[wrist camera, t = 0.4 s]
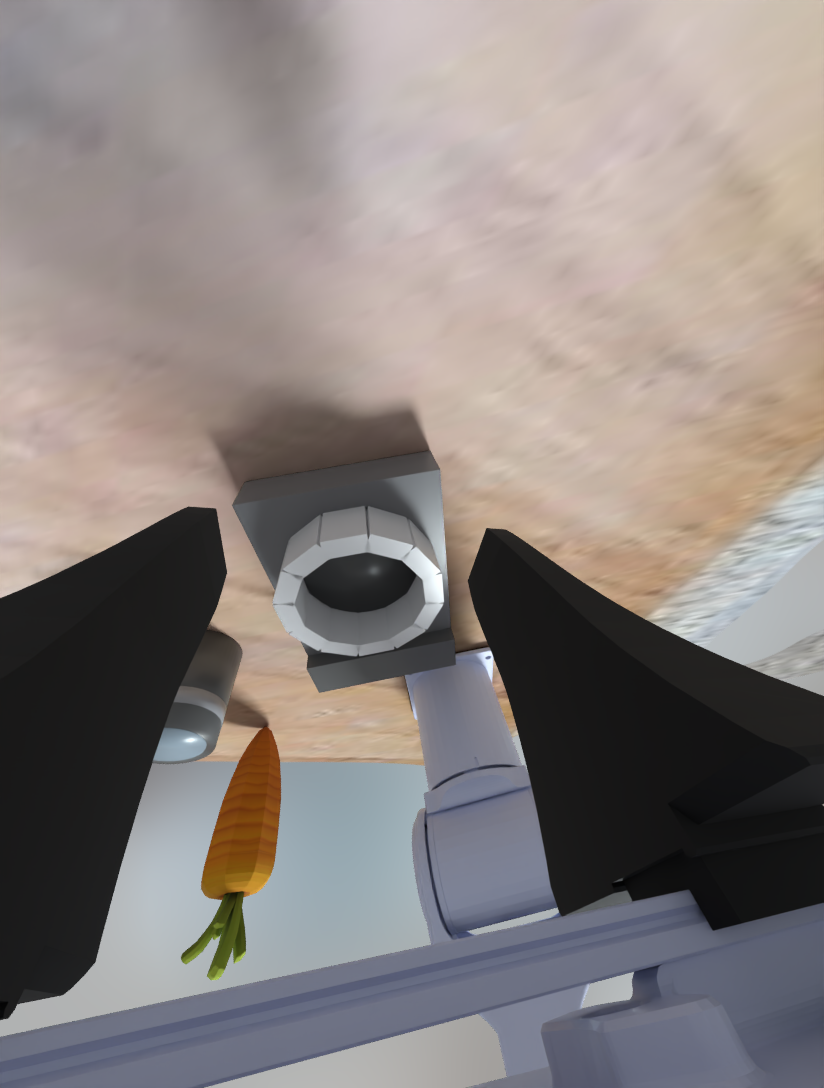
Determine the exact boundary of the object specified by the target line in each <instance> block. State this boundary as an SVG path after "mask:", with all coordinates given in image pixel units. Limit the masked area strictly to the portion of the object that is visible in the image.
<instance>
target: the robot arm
mask: <svg viewBox="0 0 824 1088" xmlns="http://www.w3.org/2000/svg"><path fill="white" fill-rule="evenodd" d="M226 574H227V569H226V563H225V558H224V552H223V546H222V540H221V534H220V529H219V523H218V517H217V511H216V509H214V508H200V507H187V508H184V509H182V510H180V511H178V512H176V513H174V514H172V515H170V516H168V517H166V518H164V519H162V520H160V521H159V522H157V523H155V524H153V525H151V526H149V527H148V528H146V529H144V530H142V531H140V532H138V533H136V534H135V535H133V536H131V537H129V538H127V539H125V540H123V541H121V542H120V543H118V544H116V545H114V546H112V547H110V548H108V549H106V550H104V551H102V552H100V553H98V554H96V555H94V556H92V557H90V558H88V559H86V560H84V561H82V562H80V563H78V564H76V565H74V566H72V567H69V568H67V569H65V570H63V571H61V572H59V573H57V574H55V575H53V576H51V577H49V578H46V579H44V580H42V581H40V582H38V583H35V584H33V585H31V586H28V587H26V588H24V589H22V590H19V591H17V592H15V593H12V594H10V595H7V596H5V597H2V598H0V1020H3V1019H7V1018H9V1017H10V1015H11V1014H12V1013H13V1011H14V1010H15V1008H16V1006H17V1004H20V1003H25V1002H30V1001H36V1000H41V999H45V998H50V997H55V996H61V995H64V994H65V993H66V992H67V991H68V990H70V989H71V988H72V987H73V986H74V985H75V984H76V983H77V982H78V981H79V980H80V979H81V978H82V977H83V976H84V975H85V974H86V973H87V971H88V970H89V969H90V968H91V967H92V965H93V964H94V963H95V962H96V958H97V954H98V950H99V945H100V942H101V937H102V934H103V930H104V926H105V923H106V919H107V915H108V911H109V908H110V904H111V900H112V896H113V893H114V889H115V885H116V882H117V878H118V874H119V871H120V867H121V863H122V860H123V857H124V853H125V850H126V846H127V843H128V840H129V836H130V833H131V830H132V826H133V823H134V819H135V816H136V812H137V809H138V806H139V802H140V799H141V796H142V793H143V790H144V787H145V784H146V781H147V777H148V774H149V771H150V768H151V765H152V762H153V759H154V756H155V753H156V750H157V747H158V744H159V741H160V738H161V735H162V732H163V730H164V727H165V724H166V721H167V718H168V715H169V712H170V709H171V707H172V704H173V702H174V699H175V697H176V695H177V692H178V690H179V687H180V685H181V683H182V681H183V679H184V677H185V675H186V672H187V670H188V668H189V666H190V664H191V662H192V660H193V657H194V655H195V653H196V651H197V649H198V647H199V645H200V643H201V640H202V638H203V636H204V634H205V632H206V630H207V627H208V625H209V623H210V621H211V619H212V617H213V614H214V612H215V610H216V608H217V605H218V602H219V598H220V595H221V592H222V589H223V585H224V582H225V578H226ZM468 584H469V588H470V593H471V597H472V601H473V605H474V609H475V612H476V615H477V617H478V620H479V622H480V625H481V628H482V630H483V633H484V635H485V638H486V640H487V643H488V645H489V647H486V648H482V649H477V650H472V651H467V652H462V653H457V654H455V657H456V665H453V666H448V667H443V668H438V669H433V670H428V671H424V672H419V673H414V674H409V675H405V678H406V683H407V687H408V692H409V696H410V701H411V705H412V709H413V714H414V718H415V719H416V720H418V726H419V733H420V739H421V745H422V751H423V757H424V764H425V770H426V776H427V782H428V788H429V792H426V793H424V799H425V806H426V808H423V809H420V810H419V812H418V814H417V818H416V820H415V822H414V824H413V829H412V851H413V862H414V869H415V877H416V883H417V889H418V894H419V898H420V903H421V907H422V910H423V913H424V916H425V919H426V922H427V926H428V931H429V936H430V941H431V945H428V946H423V947H419V948H414V949H409V950H404V951H400V952H395V953H390V954H386V955H381V956H376V957H372V958H367V959H362V960H358V961H353V962H348V963H343V964H339V965H334V966H329V967H325V968H321V969H316V970H311V971H307V972H302V973H297V974H292V975H288V976H283V977H278V978H273V979H269V980H264V981H259V982H255V983H250V984H245V985H241V986H236V987H231V988H227V989H222V990H218V991H213V992H208V993H203V994H199V995H194V996H189V997H185V998H180V999H176V1000H171V1001H166V1002H161V1003H157V1004H152V1005H148V1006H143V1007H138V1008H133V1009H129V1010H124V1011H119V1012H115V1013H110V1014H106V1015H101V1016H96V1017H92V1018H87V1019H83V1020H78V1021H72V1022H68V1023H64V1024H59V1025H54V1026H49V1027H44V1028H40V1029H35V1030H31V1031H26V1032H21V1033H16V1034H12V1035H7V1036H3V1037H0V1088H204V1087H208V1086H212V1085H215V1084H219V1083H223V1082H227V1081H230V1080H233V1079H238V1078H241V1077H245V1076H248V1075H252V1074H256V1073H259V1072H264V1071H267V1070H271V1069H275V1068H278V1067H282V1066H286V1065H289V1064H293V1063H297V1062H301V1061H304V1060H307V1059H312V1058H315V1057H319V1056H323V1055H327V1054H330V1053H334V1052H337V1051H341V1050H345V1049H349V1048H352V1047H356V1046H360V1045H363V1044H367V1043H371V1042H375V1041H379V1040H382V1039H386V1038H390V1037H393V1036H397V1035H401V1034H405V1033H408V1032H412V1031H416V1030H419V1029H423V1028H427V1027H431V1026H434V1025H438V1024H441V1023H445V1022H449V1021H453V1020H456V1019H460V1018H464V1017H467V1016H471V1015H475V1014H479V1015H480V1016H481V1017H482V1018H483V1019H484V1020H485V1021H487V1022H488V1023H489V1024H490V1025H491V1027H492V1028H493V1029H494V1030H495V1031H496V1033H497V1034H498V1037H499V1042H500V1047H501V1052H502V1056H503V1061H504V1065H505V1070H506V1075H507V1077H506V1078H502V1079H498V1080H494V1081H490V1082H487V1083H482V1084H479V1085H475V1086H471V1087H467V1088H824V806H823V805H822V804H824V696H822V695H819V694H816V693H814V692H811V691H808V690H806V689H803V688H800V687H797V686H795V685H792V684H789V683H787V682H784V681H781V680H779V679H776V678H773V677H770V676H768V675H765V674H763V673H760V672H758V671H756V670H753V669H751V668H748V667H746V666H744V665H741V664H739V663H736V662H734V661H732V660H729V659H727V658H724V657H722V656H720V655H717V654H715V653H713V652H711V651H709V650H706V649H704V648H702V647H700V646H697V645H695V644H693V643H691V642H689V641H687V640H685V639H683V638H681V637H679V636H677V635H675V634H673V633H671V632H669V631H666V630H664V629H662V628H660V627H659V626H657V625H655V624H653V623H651V622H649V621H647V620H645V619H643V618H642V617H640V616H638V615H636V614H634V613H633V612H631V611H629V610H627V609H626V608H624V607H622V606H620V605H618V604H617V603H615V602H613V601H612V600H610V599H608V598H607V597H605V596H603V595H602V594H600V593H599V592H597V591H596V590H594V589H593V588H591V587H590V586H588V585H586V584H585V583H583V582H582V581H580V580H579V579H577V578H576V577H574V576H573V575H571V574H570V573H569V572H567V571H566V570H564V569H563V568H561V567H560V566H559V565H557V564H556V563H554V562H553V561H551V560H550V559H549V558H547V557H546V556H544V555H543V554H542V553H540V552H539V551H537V550H536V549H535V548H533V547H532V546H530V545H529V544H528V543H526V542H525V541H523V540H522V539H520V538H519V537H517V536H516V535H514V534H513V533H511V532H509V531H507V530H504V529H490V528H486V531H485V534H484V537H483V540H482V542H481V545H480V548H479V551H478V554H477V557H476V559H475V562H474V565H473V568H472V571H471V573H470V576H469V579H468ZM493 657H494V660H495V662H496V665H497V667H498V670H499V672H500V675H501V677H502V680H503V683H504V686H505V689H506V692H507V695H508V698H509V702H510V705H511V709H512V712H513V716H514V719H515V723H516V726H517V730H518V734H519V738H520V741H521V745H522V749H523V753H524V757H525V761H526V765H527V769H526V766H525V765H522V763H521V761H520V758H519V755H518V753H517V750H516V747H515V745H514V742H513V739H512V736H511V734H510V731H509V728H508V725H507V723H506V720H505V717H504V715H503V712H502V709H501V706H500V704H499V701H498V698H497V696H496V693H495V690H494V687H493V685H492V673H493ZM527 770H528V772H527ZM557 907H558V910H559V913H557V914H556V915H554V916H552V917H551V918H546V919H543V920H539V921H535V922H531V923H527V924H523V925H519V926H516V927H512V928H507V929H502V930H498V931H493V932H488V933H484V934H479V935H475V934H472V933H470V932H469V930H473V929H477V928H481V927H484V926H488V925H492V924H495V923H500V922H504V921H508V920H511V919H515V918H519V917H523V916H527V915H530V914H534V913H538V912H542V911H546V910H550V909H553V908H557ZM634 971H635V972H634ZM631 972H634V975H633V979H632V986H633V996H632V997H631V999H630V1000H626V1001H619V1002H613V1003H606V1004H600V1005H595V1006H591V1007H587V1008H583V1009H582V1005H583V1002H584V998H585V996H586V993H587V991H588V988H589V985H590V983H594V982H597V981H601V980H605V979H609V978H612V977H616V976H620V975H623V974H627V973H631Z"/></svg>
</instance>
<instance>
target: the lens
mask: <svg viewBox="0 0 824 1088" xmlns="http://www.w3.org/2000/svg"><path fill="white" fill-rule="evenodd" d="M241 658H242V649H241V647H240V645H239V644H238V643H237V642H236V641H235V640H234V639H232V638H231V637H229V636H227V635H225V634H223V633H220V632H216V631H211V630H206V632H205V634H204V636H203V638H202V640H201V643H200V645H199V647H198V649H197V651H196V653H195V655H194V657H193V660H192V662H191V664H190V666H189V668H188V670H187V672H186V675H185V677H184V679H183V681H182V683H181V685H180V687H179V690H178V692H177V695H176V697H175V699H174V702H173V704H172V707H171V709H170V712H169V715H168V718H167V721H166V724H165V727H164V730H163V732H162V735H161V738H160V741H159V744H158V747H157V750H156V753H155V756H154V759H153V762H152V763H157V764H179V763H187V762H192V761H196V760H199V759H202V758H204V757H206V756H208V755H209V754H211V753H212V752H213V750H214V749H215V747H216V743H217V740H218V736H219V733H220V730H221V727H222V724H223V721H224V717H225V714H226V709H227V706H228V702H229V699H230V696H231V692H232V689H233V685H234V682H235V679H236V675H237V672H238V668H239V665H240V662H241Z"/></svg>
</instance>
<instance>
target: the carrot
mask: <svg viewBox="0 0 824 1088" xmlns="http://www.w3.org/2000/svg"><path fill="white" fill-rule="evenodd" d="M280 804H281V775H280V759H279V754H278V749H277V745H276V742H275V739H274V736H273V734H272V731H271V730H270V729H269V728H268V727H264V728H263V729H261V730H260V731H259V732H258V733H257V734H256V736H255V737H254V738H253V740H252V741H251V742H250V744H249V745H248V747H247V749H246V750H245V752H244V754H243V755H242V757H241V759H240V761H239V763H238V765H237V768H236V770H235V772H234V774H233V777H232V779H231V782H230V784H229V787H228V789H227V792H226V794H225V797H224V800H223V803H222V806H221V809H220V812H219V816H218V819H217V822H216V826H215V829H214V833H213V836H212V840H211V844H210V847H209V851H208V855H207V858H206V862H205V866H204V871H203V876H202V881H201V889H202V891H203V893H204V895H205V896H207V897H208V898H211V899H219V900H222V902H221V905H220V907H219V909H218V911H217V913H216V915H215V917H214V919H213V921H212V922H211V924H210V925H209V927H208V928H207V929H206V931H205V932H204V933H203V934H202V936H201V937H200V938H199V939H198V941H197V942H196V943H194V944H193V945H192V946H191V947H190V948H188V949H187V950H186V951H185V952H184V953H183V954H182V956H181V960H182V962H183V963H185V964H187V963H189V962H190V961H192V960H193V959H194V958H195V957H197V956H198V955H199V954H200V953H201V952H202V951H203V950H204V948H205V947H206V946H207V944H208V943H209V941H210V940H211V938H212V937H213V939H214V940H215V939H216V938H218V937H219V936H220V935H221V937H220V941H219V945H218V948H217V951H216V953H215V956H214V958H213V961H212V964H211V966H210V969H209V972H208V974H207V977H208V978H209V979H210V980H217V979H219V978H220V977H221V975H222V974H223V972H224V970H225V968H226V965H227V962H228V960H229V957H230V954H231V952H232V948H233V956H234V963H236V962H238V961H240V960H241V959H242V957H243V956H244V955H245V952H246V938H245V926H244V919H243V913H242V903H243V897H246V896H249V895H252V894H254V893H257V892H258V891H259V890H261V889H262V888H263V886H264V885H265V884H266V882H267V881H268V879H269V877H270V875H271V873H272V870H273V867H274V862H275V854H276V844H277V836H278V827H279V815H280ZM221 932H222V933H221Z"/></svg>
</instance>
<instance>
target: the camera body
mask: <svg viewBox="0 0 824 1088" xmlns="http://www.w3.org/2000/svg"><path fill="white" fill-rule="evenodd" d="M232 506H233V508H234V510H235V512H236V514H237V516H238V518H239V520H240V522H241V524H242V526H243V528H244V530H245V532H246V534H247V536H248V538H249V540H250V542H251V544H252V546H253V548H254V550H255V552H256V554H257V556H258V558H259V560H260V562H261V564H262V566H263V568H264V570H265V572H266V574H267V576H268V578H269V579H270V581H271V583H272V585H273V587H274V589H275V595H274V599H273V607H274V609H275V611H276V613H277V615H278V616H279V618H280V620H281V622H282V624H283V626H284V628H285V630H286V632H289V635H291V636H293V637H294V638H296V639H298V640H300V641H301V643H302V645H303V647H304V649H305V651H306V653H307V655H308V662H307V670H308V672H309V674H310V676H311V678H312V680H313V682H314V684H315V685H316V687H317V689H318V691H319V693H320V692H325V691H330V690H335V689H340V688H345V687H350V686H355V685H359V684H364V683H369V682H374V681H379V680H384V679H389V678H394V677H399V676H404V675H409V674H414V673H419V672H424V671H428V670H433V669H438V668H443V667H448V666H453V665H456V657H455V640H454V636H453V633H452V630H451V622H450V607H449V592H448V578H447V563H446V548H445V533H444V519H443V504H442V489H441V475H440V468H439V466H438V464H437V463H436V461H435V459H434V457H433V455H432V453H431V451H425V452H419V453H413V454H407V455H401V456H395V457H389V458H383V459H378V460H372V461H366V462H360V463H354V464H348V465H342V466H336V467H330V468H324V469H318V470H312V471H307V472H301V473H295V474H289V475H283V476H277V477H271V478H265V479H259V480H253V481H247V482H245V483H244V485H243V486H242V488H241V490H240V492H239V494H238V495H237V497H236V499H235V501H234V503H233V504H232Z"/></svg>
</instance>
